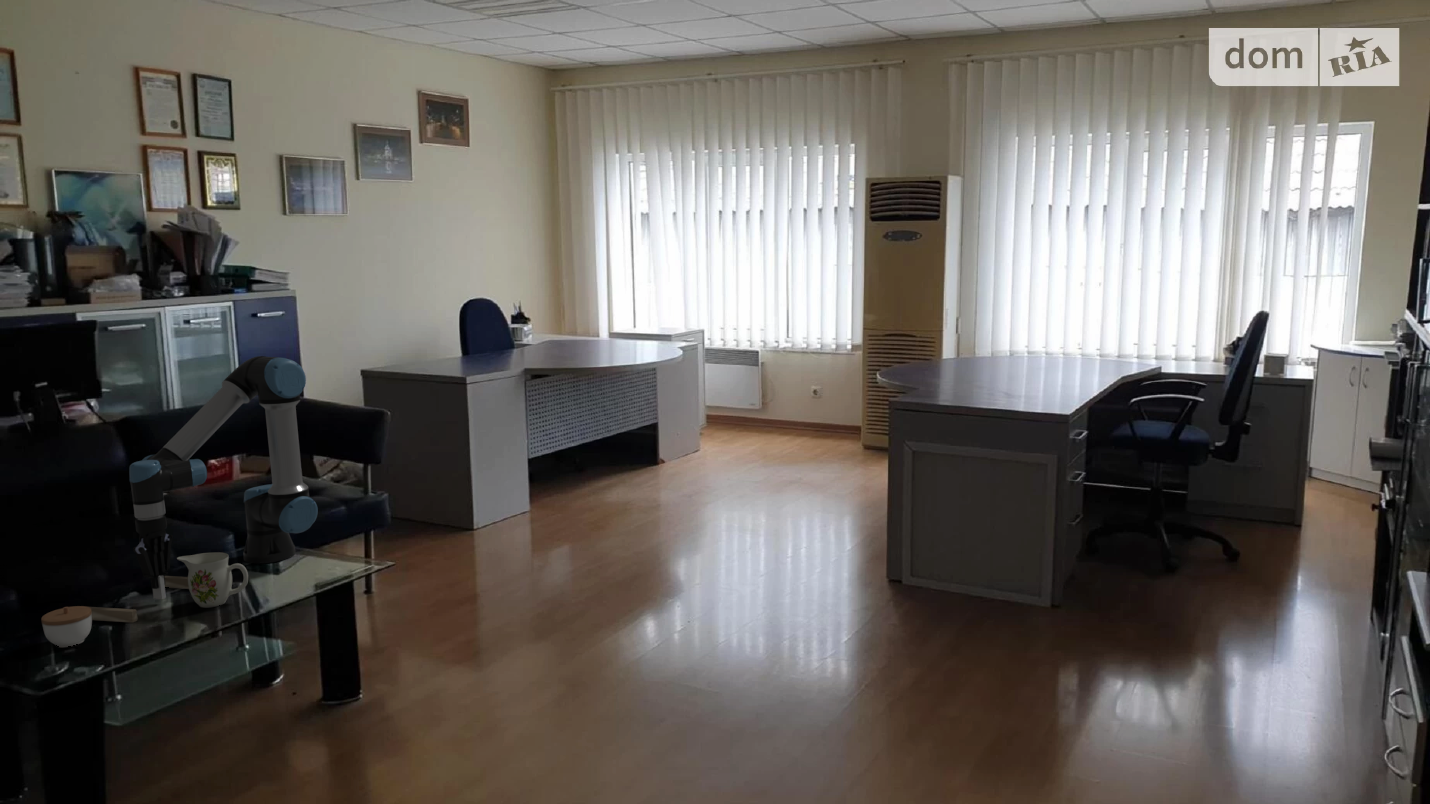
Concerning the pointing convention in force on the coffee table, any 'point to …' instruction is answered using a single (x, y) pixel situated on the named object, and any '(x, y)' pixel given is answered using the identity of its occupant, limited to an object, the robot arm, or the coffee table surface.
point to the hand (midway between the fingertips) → (159, 598)
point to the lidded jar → (67, 625)
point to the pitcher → (211, 578)
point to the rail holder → (131, 614)
